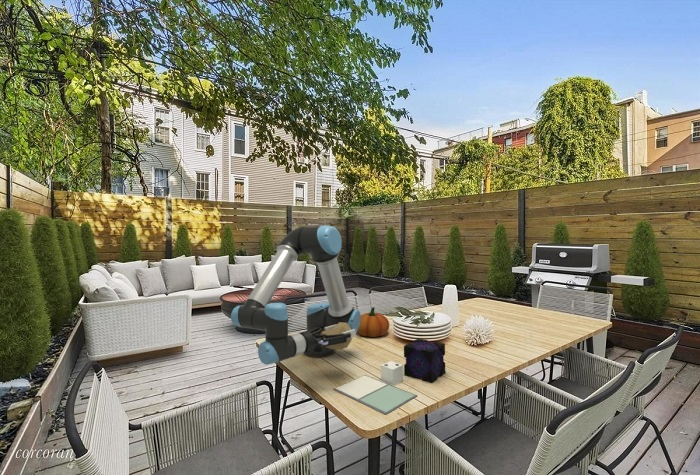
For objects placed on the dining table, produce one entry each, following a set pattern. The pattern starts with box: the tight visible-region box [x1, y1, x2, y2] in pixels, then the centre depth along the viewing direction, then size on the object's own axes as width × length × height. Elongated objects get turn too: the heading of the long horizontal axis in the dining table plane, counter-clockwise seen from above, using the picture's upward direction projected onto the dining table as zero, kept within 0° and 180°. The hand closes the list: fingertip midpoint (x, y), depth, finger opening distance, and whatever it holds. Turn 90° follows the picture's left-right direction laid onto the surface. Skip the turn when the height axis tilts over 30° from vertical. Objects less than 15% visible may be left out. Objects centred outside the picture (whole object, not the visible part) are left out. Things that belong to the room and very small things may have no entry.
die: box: [380, 360, 404, 386], centre depth 132 cm, size 6×6×6 cm
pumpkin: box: [356, 307, 390, 338], centre depth 193 cm, size 19×19×15 cm
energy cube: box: [403, 338, 446, 384], centre depth 137 cm, size 12×12×12 cm
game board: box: [332, 374, 418, 416], centre depth 122 cm, size 25×17×1 cm
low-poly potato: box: [320, 322, 353, 351], centre depth 136 cm, size 15×11×12 cm
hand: (345, 330), depth 139 cm, fingers closed on low-poly potato, 10 cm apart
